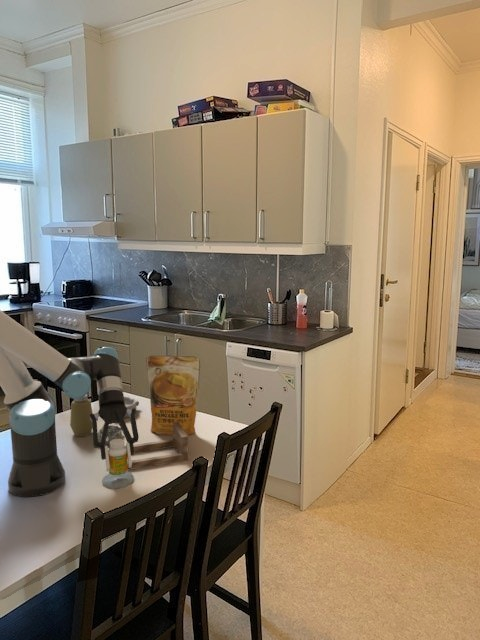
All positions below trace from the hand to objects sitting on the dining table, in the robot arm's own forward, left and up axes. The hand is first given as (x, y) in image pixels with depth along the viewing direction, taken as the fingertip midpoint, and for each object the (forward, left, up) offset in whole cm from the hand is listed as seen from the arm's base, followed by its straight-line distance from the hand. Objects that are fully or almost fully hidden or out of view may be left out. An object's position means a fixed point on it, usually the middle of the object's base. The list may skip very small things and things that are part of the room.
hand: (119, 467), depth 139 cm
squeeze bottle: (-8, +42, -6) cm, 43 cm away
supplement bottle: (0, +4, -4) cm, 5 cm away
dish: (+7, +58, -6) cm, 58 cm away
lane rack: (+12, +16, -6) cm, 21 cm away
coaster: (0, +4, -6) cm, 7 cm away
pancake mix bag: (+23, +33, -6) cm, 40 cm away
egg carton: (0, +34, -6) cm, 34 cm away
